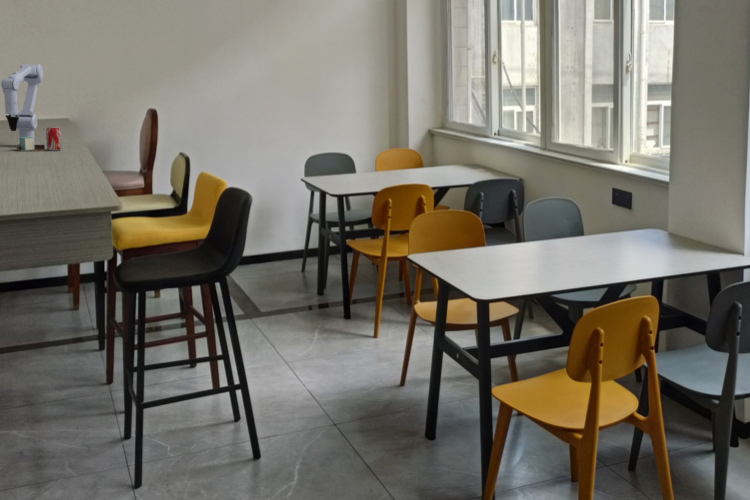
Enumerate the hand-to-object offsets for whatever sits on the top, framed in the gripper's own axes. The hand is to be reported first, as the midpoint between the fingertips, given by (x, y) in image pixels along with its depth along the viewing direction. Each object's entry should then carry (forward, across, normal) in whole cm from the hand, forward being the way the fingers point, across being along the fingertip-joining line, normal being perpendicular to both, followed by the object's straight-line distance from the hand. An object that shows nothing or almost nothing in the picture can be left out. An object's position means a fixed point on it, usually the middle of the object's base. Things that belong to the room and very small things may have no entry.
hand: (13, 130), depth 386 cm
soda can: (+10, -4, -18) cm, 21 cm away
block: (+9, -4, -6) cm, 12 cm away
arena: (+10, -3, -7) cm, 13 cm away
